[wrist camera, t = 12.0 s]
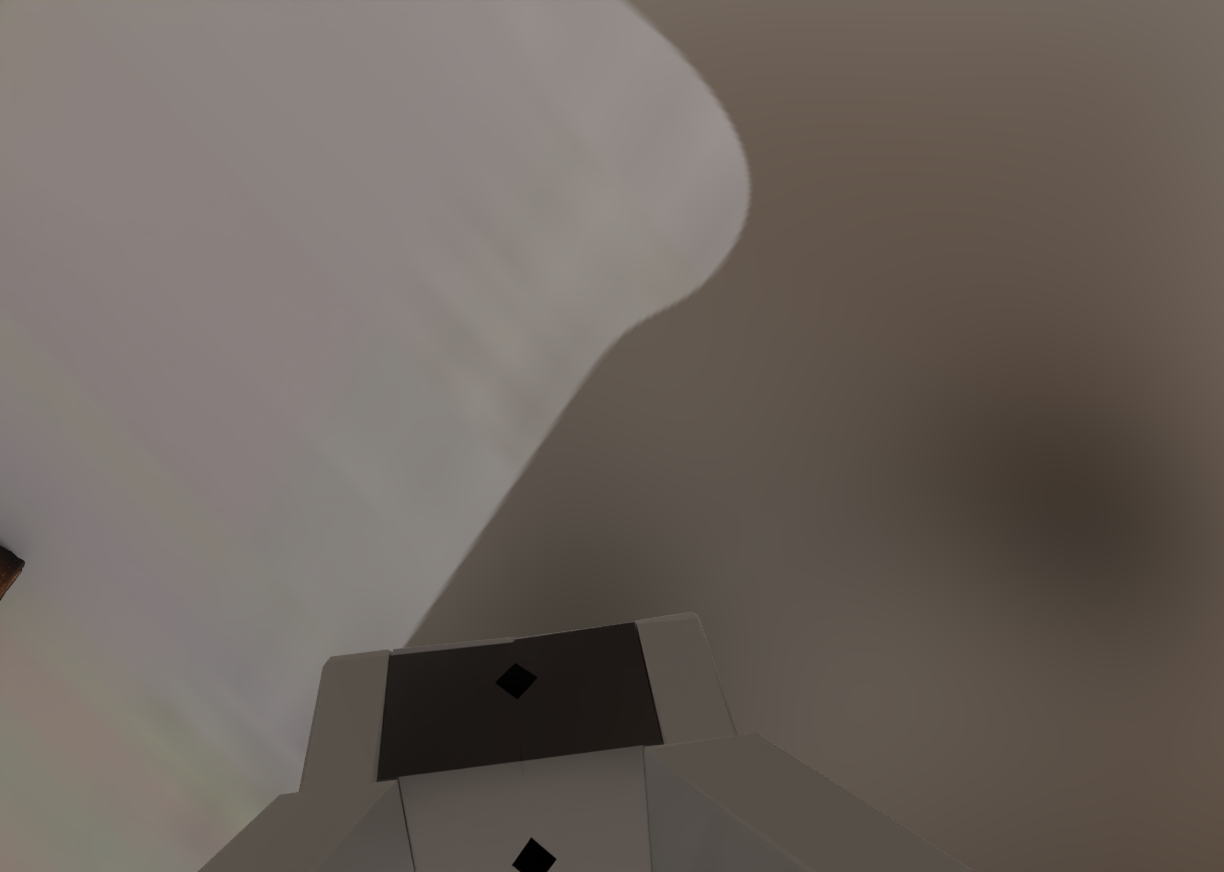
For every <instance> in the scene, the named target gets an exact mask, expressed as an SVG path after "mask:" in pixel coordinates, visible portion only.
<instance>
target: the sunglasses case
mask: <svg viewBox="0 0 1224 872" xmlns="http://www.w3.org/2000/svg"><path fill="white" fill-rule="evenodd" d="M24 565H25V562H24V560H22V559H20V558H18V557H17V556H16V555H15V554H14V553H12V552H11V551H9V550H7V549H5V548H3V547H1V546H0V600H1V599H2V597H3V596H4V594H5V592H6V591H7V590H8V589H9V587H10V586H11V585H12V584H13V582H14V581H15V580H16V578H17V577H18V576H19V574H20V573H21V571H22V568H23V567H24Z"/></svg>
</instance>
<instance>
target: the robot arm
mask: <svg viewBox="0 0 1224 872" xmlns="http://www.w3.org/2000/svg"><path fill="white" fill-rule="evenodd" d="M198 872H975V871H973V870H972V869H970V868H968V867H967V866H965V865H964V864H962V863H960V862H959V861H957V860H956V859H954V858H953V857H951V856H949V855H948V854H946V853H945V852H943V851H941V850H940V849H938V848H937V847H935V846H934V845H932V844H931V843H929V842H927V841H926V840H924V839H922V838H921V837H920V836H918V835H916V834H915V833H913V832H912V831H910V830H909V829H907V828H905V827H904V826H902V825H901V824H899V823H897V822H896V821H894V820H893V819H891V818H890V817H888V816H886V815H885V814H883V813H882V812H880V811H879V810H877V809H875V808H874V807H872V806H871V805H869V804H868V803H866V802H864V801H863V800H861V799H860V798H858V797H857V796H855V795H853V794H852V793H850V792H849V791H847V790H846V789H844V788H842V787H841V786H839V785H838V784H836V783H834V782H833V781H831V780H830V779H828V778H827V777H825V776H823V775H822V774H820V773H819V772H817V771H815V770H814V769H812V768H811V767H809V766H808V765H806V764H805V763H803V762H801V761H800V760H798V759H797V758H795V757H793V756H792V755H790V754H789V753H787V752H786V751H784V750H782V749H781V748H779V747H778V746H776V745H774V744H773V743H771V742H770V741H768V740H767V739H765V738H764V737H762V736H760V735H759V734H757V733H751V734H743V735H738V732H737V729H736V726H735V724H734V720H733V717H732V714H731V711H730V708H729V705H728V702H727V700H726V696H725V693H724V691H723V687H722V685H721V681H720V678H719V675H718V673H717V669H716V666H715V663H714V661H713V658H712V654H711V651H710V648H709V645H708V642H707V639H706V637H705V634H704V631H703V627H702V625H701V621H700V618H699V617H698V616H697V615H696V614H695V613H693V612H687V613H681V614H675V615H668V616H662V617H656V618H649V619H643V620H637V621H634V622H629V623H622V624H616V625H608V626H601V627H594V628H588V629H580V630H573V631H566V632H559V633H552V634H544V635H538V636H530V637H523V638H516V639H515V637H509V638H499V639H489V640H480V641H470V642H460V643H450V644H440V645H430V646H420V647H410V648H401V649H394V650H393V652H391V651H389V650H380V651H372V652H364V653H356V654H348V655H341V656H333V657H330V658H329V660H328V661H327V662H326V663H325V665H324V666H323V669H322V674H321V679H320V685H319V690H318V695H317V700H316V705H315V710H314V716H313V721H312V726H311V731H310V736H309V742H308V747H307V752H306V757H305V762H304V768H303V773H302V778H301V783H300V788H299V792H296V793H289V794H282V795H279V796H278V797H277V798H276V799H275V800H274V801H273V802H272V803H271V804H269V805H268V806H267V807H266V808H265V809H264V810H263V811H262V812H261V813H260V814H259V815H258V816H257V817H256V818H255V819H253V820H252V821H251V822H250V823H249V824H248V825H247V826H246V827H245V828H244V829H243V830H242V831H241V832H240V833H238V834H237V835H236V836H235V837H234V838H233V839H232V840H231V841H230V842H229V843H228V844H227V845H226V846H225V847H224V848H222V849H221V850H220V851H219V852H218V853H217V854H216V855H215V856H214V857H213V858H212V859H211V860H210V861H209V862H208V863H206V864H205V865H204V866H203V867H202V868H201V869H200V870H199V871H198Z"/></svg>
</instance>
